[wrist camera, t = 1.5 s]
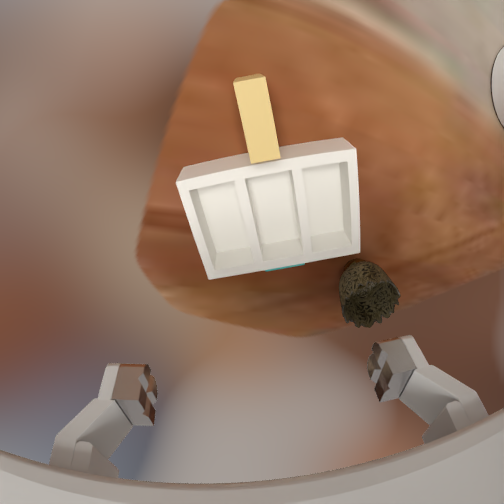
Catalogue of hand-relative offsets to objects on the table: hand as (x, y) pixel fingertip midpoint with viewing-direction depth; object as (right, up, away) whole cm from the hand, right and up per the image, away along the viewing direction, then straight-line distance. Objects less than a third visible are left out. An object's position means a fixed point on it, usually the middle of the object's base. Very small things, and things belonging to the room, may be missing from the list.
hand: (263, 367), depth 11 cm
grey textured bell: (+14, +2, +32) cm, 35 cm away
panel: (0, +19, +20) cm, 27 cm away
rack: (+2, +10, +26) cm, 28 cm away
